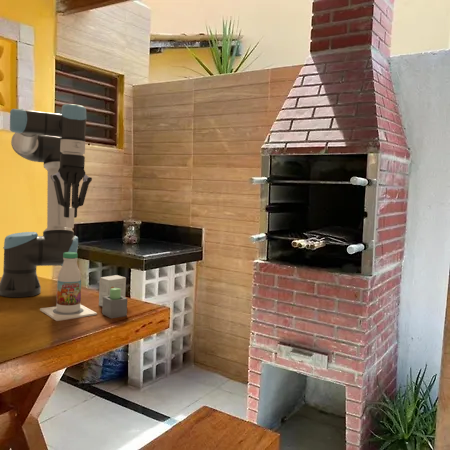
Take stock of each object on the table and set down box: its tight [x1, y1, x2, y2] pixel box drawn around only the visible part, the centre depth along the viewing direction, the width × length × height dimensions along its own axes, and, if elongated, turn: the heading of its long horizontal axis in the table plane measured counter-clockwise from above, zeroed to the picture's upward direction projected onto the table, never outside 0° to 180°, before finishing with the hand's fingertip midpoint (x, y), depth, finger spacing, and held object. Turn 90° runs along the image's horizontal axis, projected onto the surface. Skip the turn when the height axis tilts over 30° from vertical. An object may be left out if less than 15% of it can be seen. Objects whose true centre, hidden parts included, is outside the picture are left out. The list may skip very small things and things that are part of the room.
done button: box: [110, 288, 121, 300], centre depth 158 cm, size 4×4×5 cm
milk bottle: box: [55, 252, 82, 313], centre depth 156 cm, size 8×8×20 cm
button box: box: [101, 296, 128, 319], centre depth 158 cm, size 6×6×6 cm
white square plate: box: [39, 303, 98, 322], centre depth 157 cm, size 14×14×1 cm
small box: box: [98, 274, 127, 308], centre depth 169 cm, size 8×6×10 cm
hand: (70, 227), depth 149 cm, fingers closed
